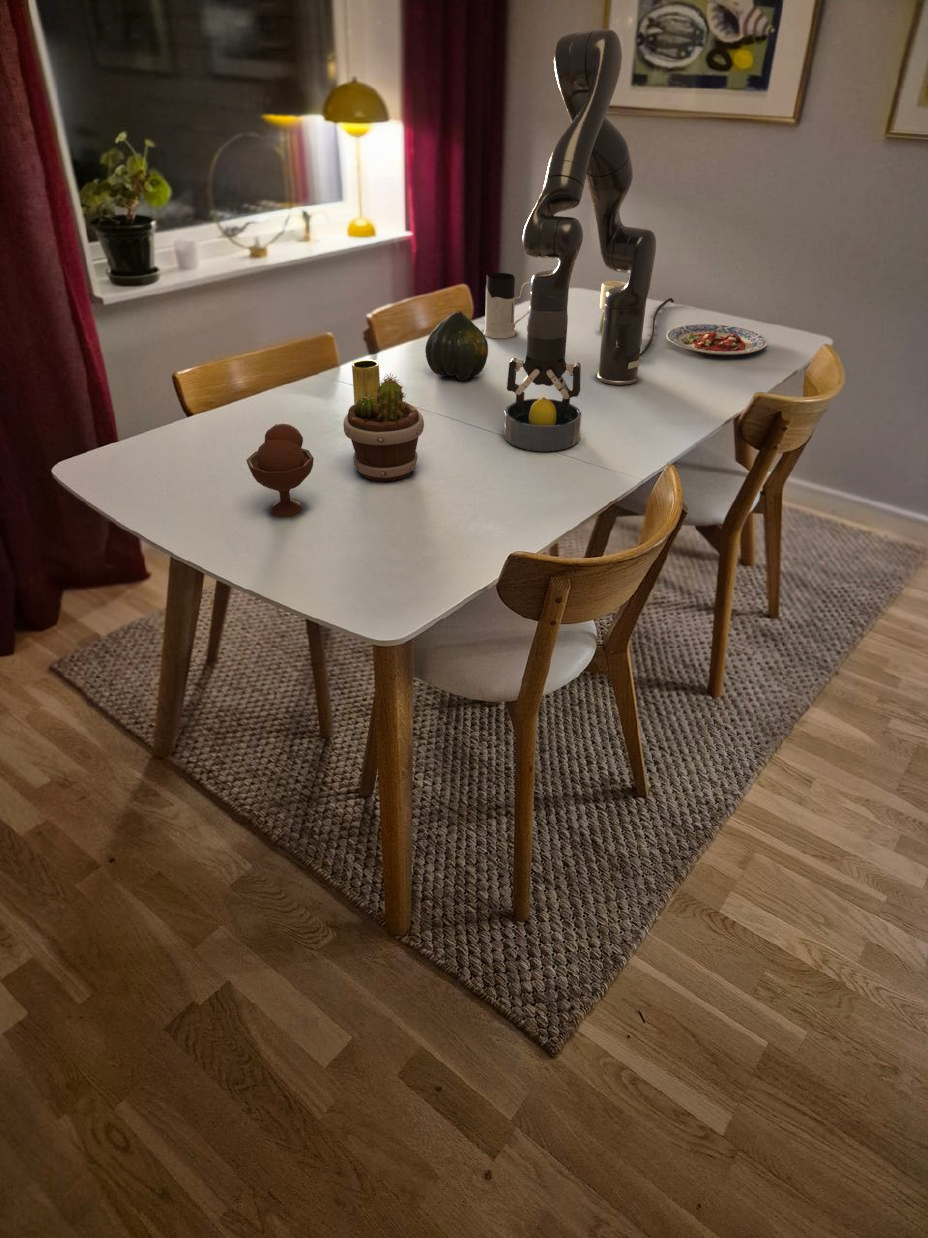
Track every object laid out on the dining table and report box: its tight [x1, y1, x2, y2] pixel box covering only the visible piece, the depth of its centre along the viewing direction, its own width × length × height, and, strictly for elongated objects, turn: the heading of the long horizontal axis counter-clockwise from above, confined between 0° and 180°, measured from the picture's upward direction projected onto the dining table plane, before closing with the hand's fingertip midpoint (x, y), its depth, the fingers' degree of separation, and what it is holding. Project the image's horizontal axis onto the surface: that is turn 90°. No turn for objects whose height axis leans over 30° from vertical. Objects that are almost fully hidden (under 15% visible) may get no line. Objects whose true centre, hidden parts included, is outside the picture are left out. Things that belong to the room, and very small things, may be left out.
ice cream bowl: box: [245, 423, 315, 518], centre depth 141 cm, size 11×11×15 cm
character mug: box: [598, 280, 628, 333], centre depth 227 cm, size 11×7×13 cm, turn 146°
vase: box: [351, 359, 381, 405], centre depth 169 cm, size 6×6×14 cm
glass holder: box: [482, 272, 531, 339], centre depth 226 cm, size 9×14×15 cm, turn 82°
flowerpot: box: [342, 372, 425, 482], centre depth 153 cm, size 14×15×20 cm
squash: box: [424, 310, 489, 381], centre depth 200 cm, size 14×15×15 cm
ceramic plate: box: [666, 323, 769, 357], centre depth 221 cm, size 26×26×3 cm
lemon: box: [529, 396, 557, 426], centre depth 169 cm, size 6×6×8 cm
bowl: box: [503, 398, 582, 453], centre depth 170 cm, size 15×15×6 cm
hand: (541, 413), depth 168 cm, fingers open, 8 cm apart
